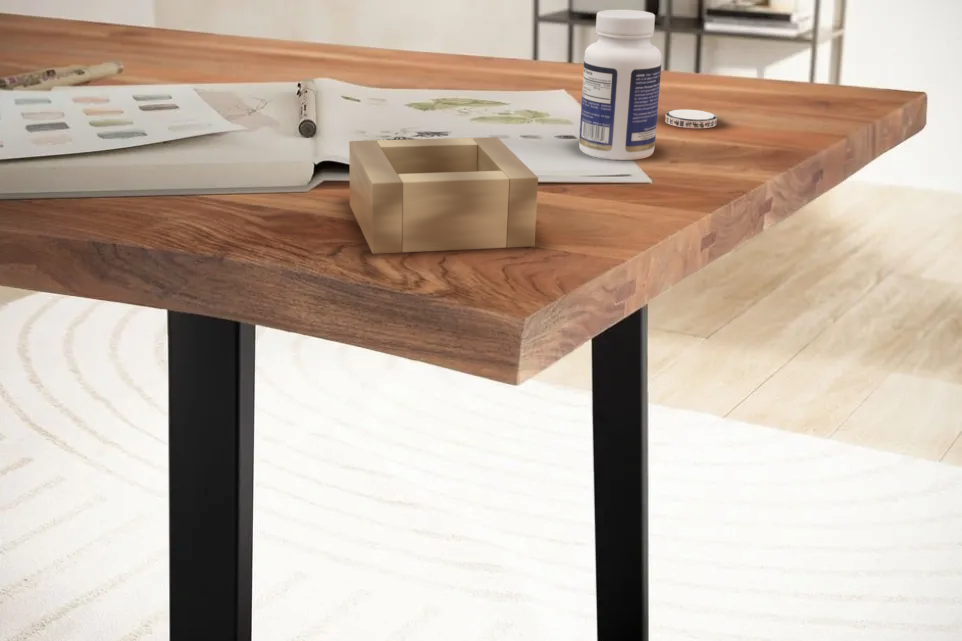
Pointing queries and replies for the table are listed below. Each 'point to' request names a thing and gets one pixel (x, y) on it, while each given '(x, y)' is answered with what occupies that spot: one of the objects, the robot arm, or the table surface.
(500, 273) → the table surface
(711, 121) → the washi tape
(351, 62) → the table surface
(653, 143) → the pill bottle
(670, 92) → the table surface
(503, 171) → the holder
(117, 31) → the table surface
